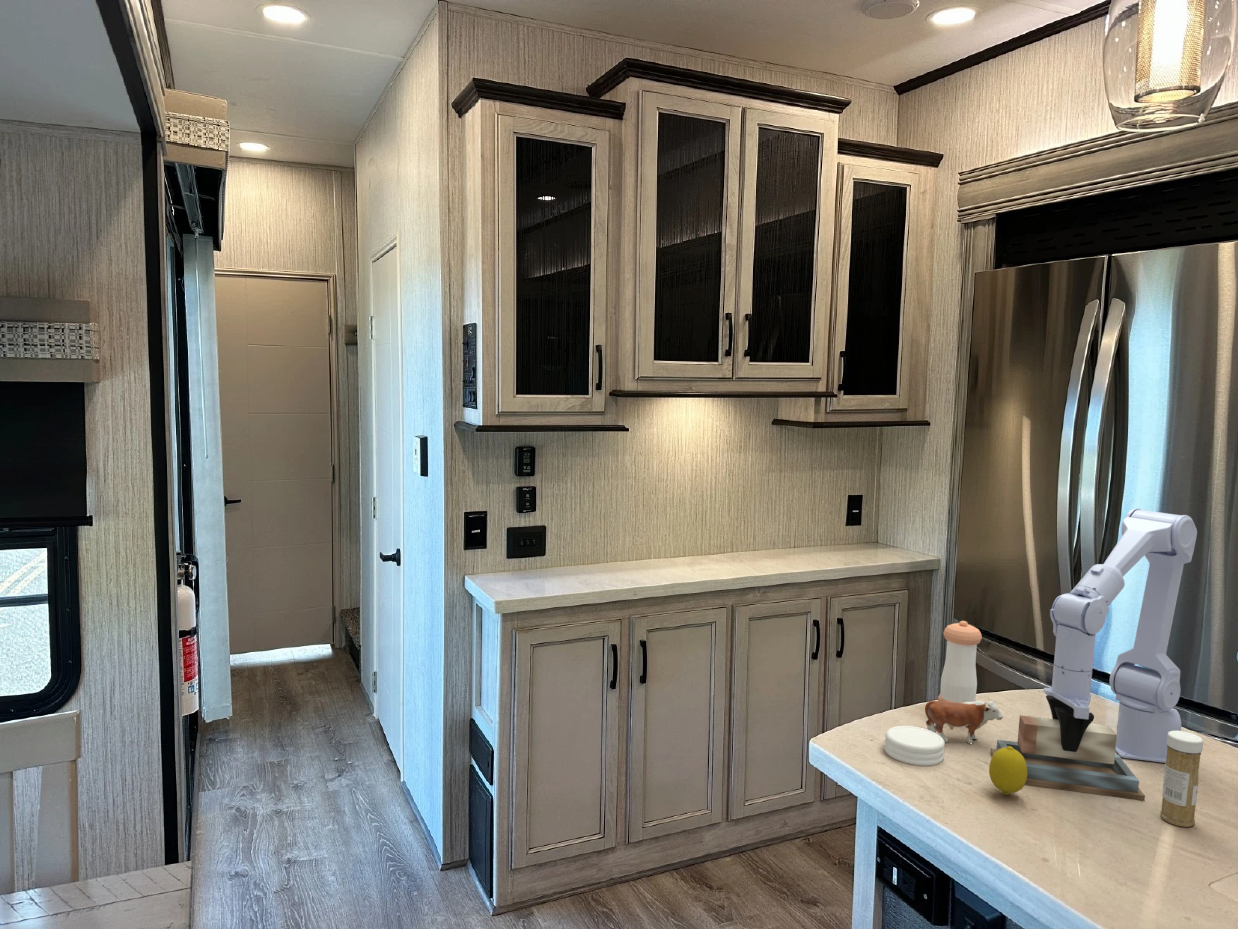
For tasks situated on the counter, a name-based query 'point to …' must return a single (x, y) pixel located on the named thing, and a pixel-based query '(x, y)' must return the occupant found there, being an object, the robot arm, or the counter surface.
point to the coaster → (914, 745)
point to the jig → (1079, 774)
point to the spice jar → (1181, 778)
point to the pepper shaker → (960, 663)
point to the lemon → (1008, 770)
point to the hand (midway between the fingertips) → (1065, 745)
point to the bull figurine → (960, 716)
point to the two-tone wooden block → (1046, 740)
